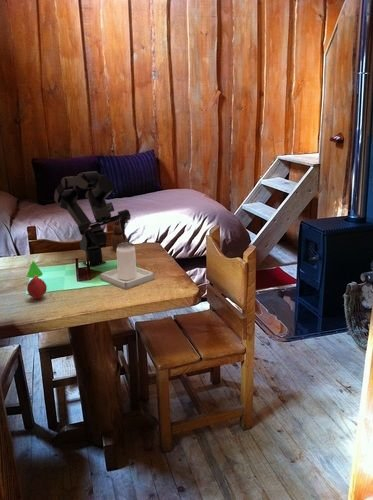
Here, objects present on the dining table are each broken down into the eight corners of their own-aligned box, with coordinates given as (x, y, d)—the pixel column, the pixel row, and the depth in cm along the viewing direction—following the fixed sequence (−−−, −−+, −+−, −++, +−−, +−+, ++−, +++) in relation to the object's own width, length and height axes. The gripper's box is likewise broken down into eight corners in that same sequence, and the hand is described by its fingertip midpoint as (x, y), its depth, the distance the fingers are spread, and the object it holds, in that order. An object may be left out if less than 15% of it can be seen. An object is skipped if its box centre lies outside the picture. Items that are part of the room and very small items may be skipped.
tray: (100, 279, 162) (100, 273, 161) (129, 269, 171) (129, 264, 170) (125, 289, 153) (125, 283, 152) (154, 279, 161) (154, 273, 161)
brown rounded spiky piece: (130, 250, 194) (128, 215, 189) (119, 253, 190) (117, 218, 185) (120, 247, 198) (117, 213, 194) (109, 250, 194) (106, 215, 190)
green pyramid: (45, 276, 167) (43, 260, 165) (28, 279, 164) (26, 263, 162) (40, 271, 172) (39, 256, 170) (24, 274, 169) (22, 259, 167)
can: (138, 279, 159) (136, 246, 156) (119, 281, 158) (117, 248, 154) (134, 273, 165) (133, 241, 162) (116, 275, 164) (114, 243, 160)
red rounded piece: (37, 304, 143) (34, 280, 141) (24, 300, 146) (21, 276, 143) (51, 297, 148) (48, 274, 145) (39, 294, 151) (36, 271, 148)
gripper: (70, 205, 156) (84, 248, 154) (122, 189, 160) (137, 230, 157) (73, 214, 167) (87, 254, 165) (123, 199, 170) (136, 238, 168)
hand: (112, 244), depth 163 cm, fingers open, 9 cm apart
